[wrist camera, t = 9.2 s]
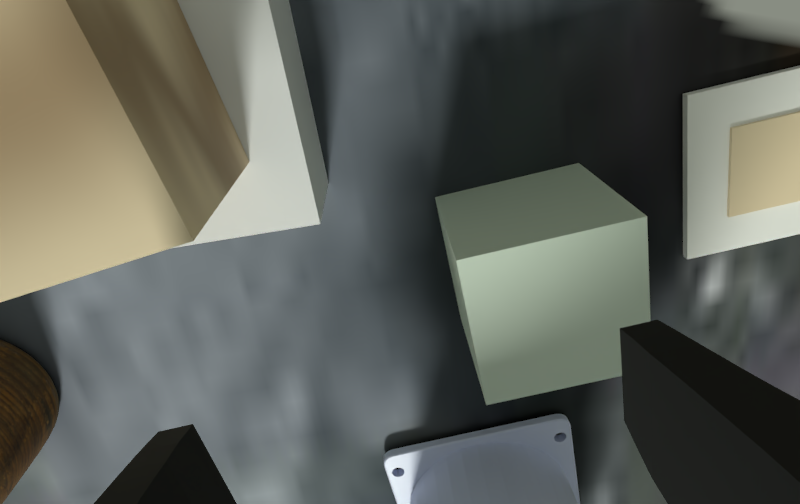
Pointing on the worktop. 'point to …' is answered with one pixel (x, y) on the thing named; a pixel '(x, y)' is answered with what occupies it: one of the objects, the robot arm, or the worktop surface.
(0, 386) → the utensil holder
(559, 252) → the sage cube
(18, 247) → the maple cube
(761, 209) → the card
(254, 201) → the grey base block
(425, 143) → the worktop surface
